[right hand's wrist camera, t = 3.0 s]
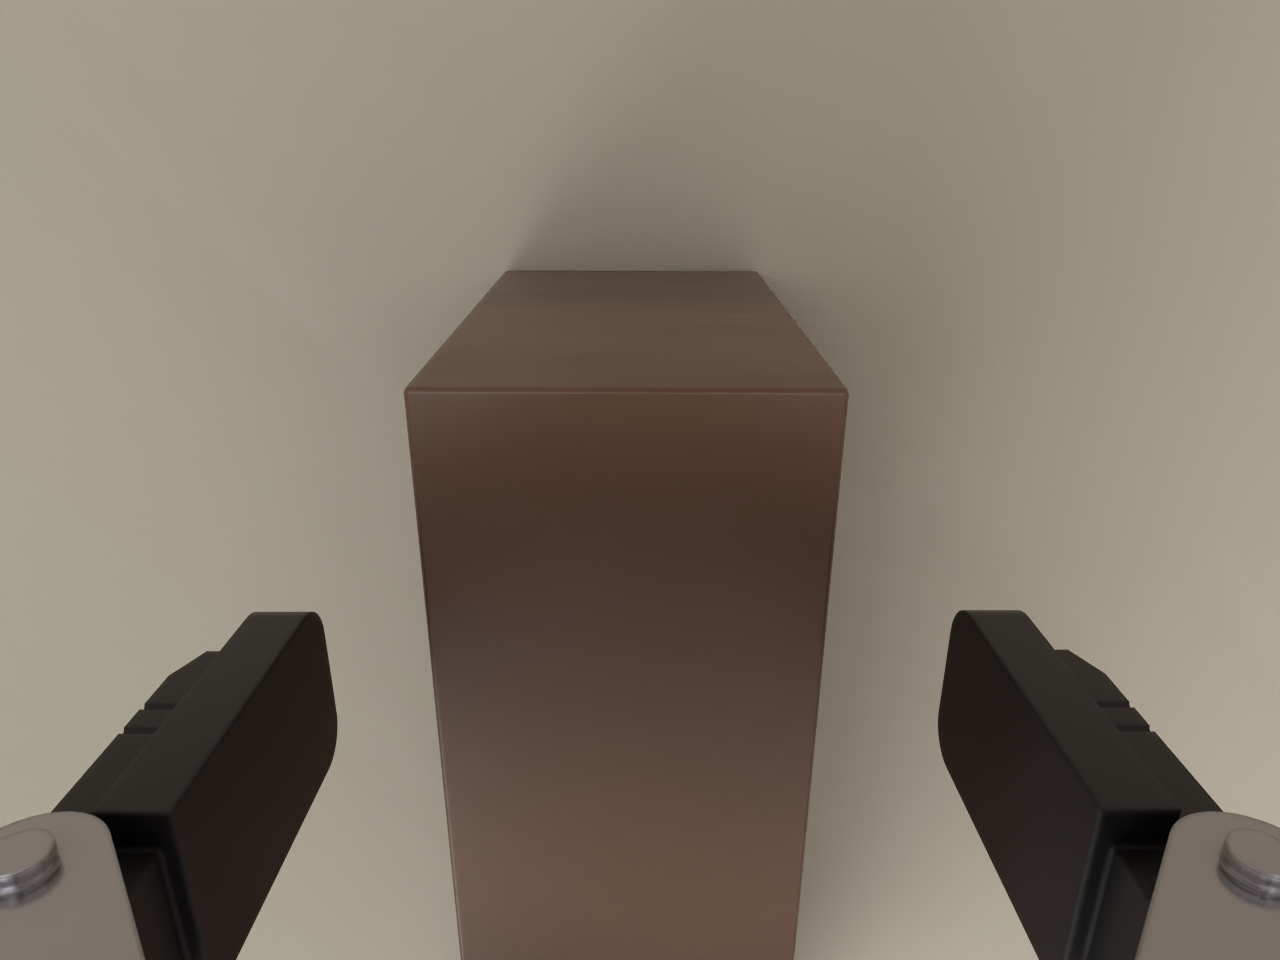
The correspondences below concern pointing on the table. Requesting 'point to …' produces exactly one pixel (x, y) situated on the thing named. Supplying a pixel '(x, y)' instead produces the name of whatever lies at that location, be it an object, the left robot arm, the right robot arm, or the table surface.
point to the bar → (627, 610)
